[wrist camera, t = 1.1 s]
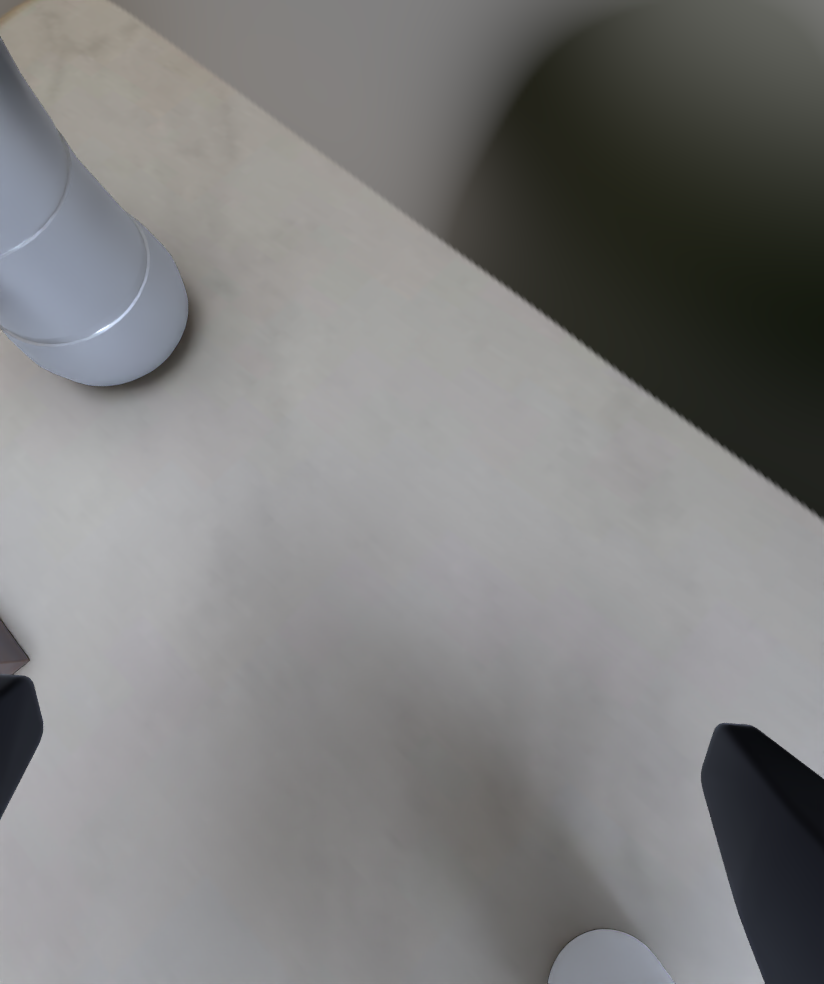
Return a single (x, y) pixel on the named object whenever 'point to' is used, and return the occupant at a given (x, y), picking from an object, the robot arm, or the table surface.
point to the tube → (607, 961)
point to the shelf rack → (10, 653)
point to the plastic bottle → (76, 257)
